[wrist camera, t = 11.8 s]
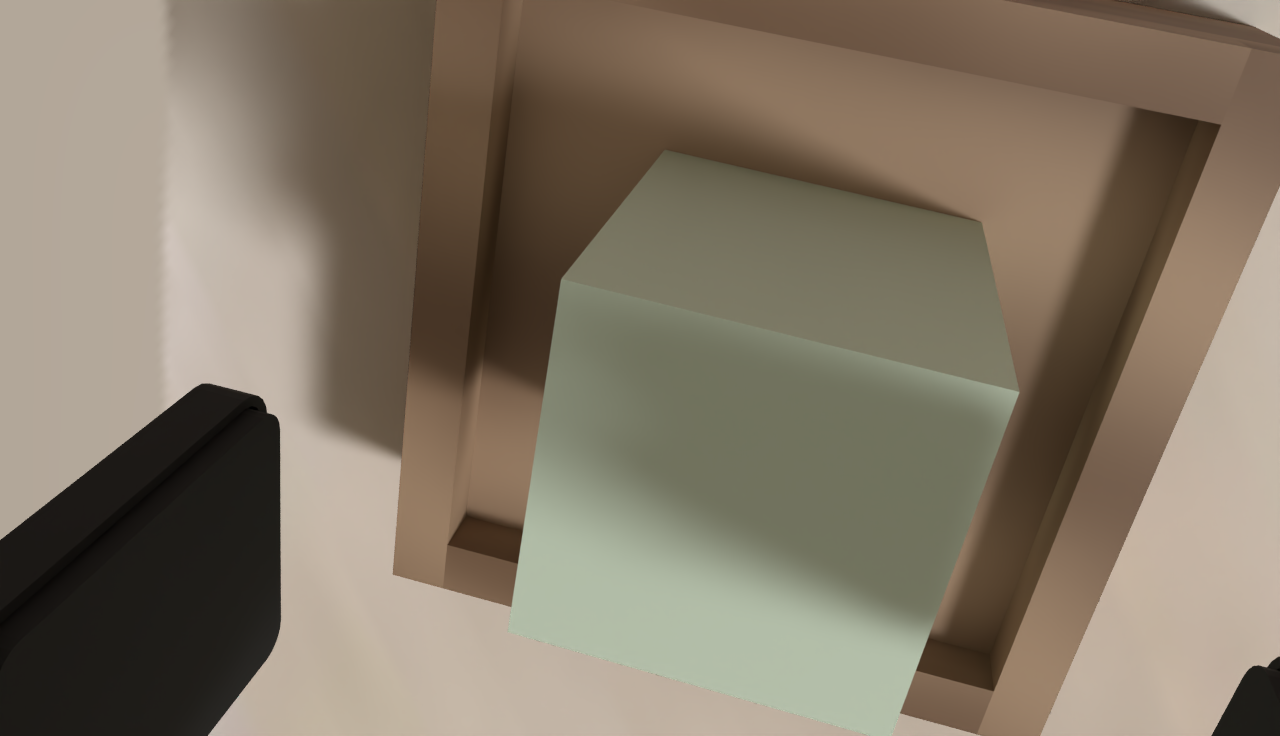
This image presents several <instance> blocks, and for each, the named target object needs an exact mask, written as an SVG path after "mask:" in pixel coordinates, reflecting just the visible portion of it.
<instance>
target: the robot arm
mask: <svg viewBox="0 0 1280 736" xmlns="http://www.w3.org/2000/svg"><path fill="white" fill-rule="evenodd" d="M280 622H281V559H280V426H279V421H278V419H277V417H276V416H274V415H272V414H268V413H267V410H266V406H265V403H264V401H263V399H261V398H260V397H259V396H256V395H252V394H248V393H244V392H241V391H237V390H233V389H229V388H225V387H221V386H217V385H213V384H201V385H199V386H197V387H195V388H194V389H192V390H191V391H190V392H189V393H187V394H186V395H185V396H183V397H182V398H181V399H180V400H178V401H177V402H176V403H175V404H173V405H172V406H171V407H169V408H168V409H167V410H166V411H164V412H163V413H162V414H161V415H159V416H158V417H157V418H155V419H154V420H153V421H152V422H150V423H149V424H148V425H147V426H146V427H144V428H143V429H142V430H140V431H139V432H138V433H136V434H135V435H134V436H133V437H131V438H130V439H129V440H127V441H126V442H125V443H124V444H122V445H121V446H120V447H118V448H117V449H116V450H115V451H114V452H112V453H111V454H110V455H108V456H107V457H106V458H105V459H103V460H102V461H101V462H99V463H98V464H97V465H95V466H94V467H93V468H92V469H91V470H89V471H88V472H87V473H85V474H84V475H83V476H82V477H80V478H79V479H78V480H77V481H75V482H74V483H73V484H71V485H70V486H69V487H67V488H66V489H65V490H64V491H62V492H61V493H60V494H59V495H57V496H56V497H55V498H53V499H52V500H51V501H50V502H48V503H47V504H46V505H45V506H43V507H42V508H41V509H39V510H38V511H37V512H36V513H34V514H33V515H32V516H30V517H29V518H28V519H27V520H25V521H24V522H23V523H22V524H21V525H19V526H18V527H17V528H15V529H14V530H13V531H11V532H10V533H9V534H7V535H6V536H5V537H4V538H2V539H1V540H0V736H208V735H209V733H210V732H211V731H212V729H213V728H214V727H215V725H216V724H217V723H218V722H219V720H220V719H221V718H222V716H223V715H224V714H225V713H226V711H227V710H228V709H229V707H230V706H231V705H232V704H233V702H234V701H235V700H236V698H237V697H238V696H239V694H240V693H241V692H242V691H243V689H244V688H245V687H246V685H247V684H248V683H249V682H250V680H251V679H252V678H253V676H254V675H255V674H256V672H257V671H258V670H259V669H260V667H261V666H262V665H263V663H264V662H265V661H266V660H267V658H268V657H269V655H270V653H271V652H272V650H273V647H274V645H275V643H276V640H277V637H278V634H279V630H280ZM1212 736H1280V657H1277V658H1276V659H1275V660H1273V661H1272V662H1271V663H1270V664H1269V666H1268V667H1267V668H1266V667H1262V666H1253V667H1252V668H1250V669H1249V670H1248V671H1247V672H1246V674H1245V675H1244V677H1243V678H1242V680H1241V682H1240V684H1239V686H1238V688H1237V689H1236V691H1235V693H1234V695H1233V697H1232V699H1231V701H1230V702H1229V704H1228V706H1227V708H1226V710H1225V712H1224V714H1223V715H1222V717H1221V719H1220V721H1219V723H1218V725H1217V727H1216V728H1215V730H1214V732H1213V734H1212Z"/></svg>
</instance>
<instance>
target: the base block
mask: <svg viewBox="0 0 1280 736" xmlns="http://www.w3.org/2000/svg"><path fill="white" fill-rule="evenodd" d="M664 150H669V151H673V152H678V153H682V154H686V155H691V156H695V157H699V158H704V159H708V160H712V161H717V162H721V163H725V164H730V165H734V166H738V167H743V168H747V169H751V170H756V171H760V172H764V173H769V174H773V175H777V176H782V177H786V178H791V179H795V180H799V181H804V182H808V183H812V184H817V185H821V186H825V187H830V188H834V189H838V190H843V191H847V192H851V193H856V194H860V195H864V196H869V197H873V198H877V199H882V200H886V201H890V202H895V203H899V204H904V205H908V206H912V207H917V208H921V209H925V210H930V211H934V212H938V213H943V214H947V215H951V216H956V217H960V218H964V219H969V220H973V221H977V222H982V225H983V229H984V234H985V238H986V243H987V247H988V252H989V256H990V261H991V265H992V270H993V274H994V279H995V283H996V288H997V292H998V297H999V301H1000V306H1001V311H1002V315H1003V320H1004V324H1005V329H1006V333H1007V338H1008V342H1009V347H1010V351H1011V356H1012V360H1013V365H1014V369H1015V374H1016V378H1017V383H1018V387H1019V395H1018V398H1017V400H1016V403H1015V406H1014V408H1013V411H1012V414H1011V416H1010V419H1009V422H1008V424H1007V427H1006V430H1005V432H1004V435H1003V438H1002V441H1001V443H1000V446H999V449H998V451H997V454H996V457H995V459H994V462H993V465H992V467H991V470H990V473H989V475H988V478H987V481H986V483H985V486H984V489H983V492H982V494H981V497H980V500H979V502H978V505H977V508H976V510H975V513H974V516H973V518H972V521H971V524H970V526H969V529H968V532H967V535H966V537H965V540H964V543H963V545H962V548H961V551H960V553H959V556H958V559H957V561H956V564H955V567H954V569H953V572H952V575H951V577H950V580H949V583H948V586H947V588H946V591H945V594H944V596H943V599H942V602H941V604H940V607H939V610H938V612H937V615H936V618H935V620H934V623H933V626H932V628H931V631H930V634H929V637H928V639H927V642H926V645H925V647H924V650H923V653H922V655H921V658H920V661H919V663H918V666H917V669H916V671H915V674H914V677H913V679H912V682H911V685H910V688H909V690H908V693H907V696H906V698H905V701H904V704H903V706H902V709H901V712H900V713H901V714H905V715H909V716H912V717H916V718H919V719H923V720H927V721H930V722H934V723H938V724H941V725H945V726H949V727H952V728H956V729H960V730H963V731H967V732H971V733H974V734H978V735H982V736H1040V734H1041V732H1042V730H1043V728H1044V725H1045V723H1046V721H1047V718H1048V716H1049V714H1050V712H1051V709H1052V707H1053V705H1054V702H1055V700H1056V698H1057V695H1058V693H1059V691H1060V689H1061V686H1062V684H1063V682H1064V679H1065V677H1066V675H1067V673H1068V670H1069V668H1070V666H1071V663H1072V661H1073V659H1074V656H1075V654H1076V652H1077V650H1078V647H1079V645H1080V643H1081V640H1082V638H1083V636H1084V634H1085V631H1086V629H1087V627H1088V624H1089V622H1090V620H1091V617H1092V615H1093V613H1094V611H1095V608H1096V606H1097V604H1098V601H1099V599H1100V597H1101V595H1102V592H1103V590H1104V588H1105V585H1106V583H1107V581H1108V578H1109V576H1110V574H1111V572H1112V569H1113V567H1114V565H1115V562H1116V560H1117V558H1118V556H1119V553H1120V551H1121V549H1122V546H1123V544H1124V542H1125V540H1126V537H1127V535H1128V533H1129V530H1130V528H1131V526H1132V523H1133V521H1134V519H1135V517H1136V514H1137V512H1138V510H1139V507H1140V505H1141V503H1142V501H1143V498H1144V496H1145V494H1146V491H1147V489H1148V487H1149V484H1150V482H1151V480H1152V478H1153V475H1154V473H1155V471H1156V468H1157V466H1158V464H1159V462H1160V459H1161V457H1162V455H1163V452H1164V450H1165V448H1166V445H1167V443H1168V441H1169V439H1170V436H1171V434H1172V432H1173V429H1174V427H1175V425H1176V423H1177V420H1178V418H1179V416H1180V413H1181V411H1182V409H1183V406H1184V404H1185V402H1186V400H1187V397H1188V395H1189V393H1190V390H1191V388H1192V386H1193V384H1194V381H1195V379H1196V377H1197V374H1198V372H1199V370H1200V367H1201V365H1202V363H1203V361H1204V358H1205V356H1206V354H1207V351H1208V349H1209V347H1210V345H1211V342H1212V340H1213V338H1214V335H1215V333H1216V331H1217V329H1218V326H1219V324H1220V322H1221V319H1222V317H1223V315H1224V312H1225V310H1226V308H1227V306H1228V303H1229V301H1230V299H1231V296H1232V294H1233V292H1234V290H1235V287H1236V285H1237V283H1238V280H1239V278H1240V276H1241V273H1242V271H1243V269H1244V267H1245V264H1246V262H1247V260H1248V257H1249V255H1250V253H1251V251H1252V248H1253V246H1254V244H1255V241H1256V239H1257V237H1258V234H1259V232H1260V230H1261V228H1262V225H1263V223H1264V221H1265V218H1266V216H1267V214H1268V212H1269V209H1270V207H1271V205H1272V202H1273V200H1274V198H1275V195H1276V193H1277V191H1278V189H1279V186H1280V39H1279V38H1277V37H1275V36H1272V35H1270V34H1268V33H1266V32H1264V31H1262V30H1260V29H1258V28H1256V27H1252V26H1247V25H1242V24H1236V23H1231V22H1226V21H1221V20H1216V19H1210V18H1205V17H1200V16H1195V15H1190V14H1184V13H1179V12H1174V11H1169V10H1163V9H1158V8H1153V7H1148V6H1143V5H1137V4H1132V3H1127V2H1122V1H1117V0H436V12H435V25H434V39H433V52H432V65H431V78H430V91H429V104H428V118H427V131H426V144H425V157H424V170H423V184H422V197H421V210H420V223H419V236H418V249H417V263H416V276H415V289H414V302H413V315H412V328H411V342H410V355H409V368H408V381H407V394H406V407H405V421H404V434H403V447H402V460H401V473H400V486H399V500H398V513H397V526H396V539H395V552H394V566H393V575H397V576H400V577H404V578H408V579H411V580H415V581H419V582H422V583H426V584H430V585H433V586H437V587H441V588H444V589H448V590H451V591H455V592H459V593H462V594H466V595H470V596H473V597H477V598H481V599H484V600H488V601H492V602H495V603H499V604H503V605H506V606H510V607H512V600H513V594H514V587H515V580H516V574H517V567H518V561H519V554H520V547H521V541H522V534H523V528H524V521H525V514H526V508H527V501H528V495H529V488H530V481H531V475H532V468H533V462H534V455H535V448H536V442H537V435H538V429H539V422H540V415H541V409H542V402H543V396H544V389H545V383H546V376H547V369H548V363H549V356H550V350H551V343H552V336H553V330H554V323H555V317H556V310H557V303H558V297H559V290H560V284H561V279H562V277H563V276H564V275H565V274H566V272H567V271H568V270H569V269H570V267H571V266H572V265H573V264H574V262H575V261H576V260H577V259H578V257H579V256H580V255H581V254H582V252H583V251H584V250H585V249H586V247H587V246H588V245H589V244H590V242H591V241H592V240H593V239H594V237H595V236H596V235H597V234H598V232H599V231H600V230H601V229H602V227H603V226H604V225H605V224H606V222H607V221H608V220H609V219H610V217H611V216H612V215H613V214H614V213H615V211H616V210H617V209H618V208H619V206H620V205H621V204H622V203H623V201H624V200H625V199H626V198H627V196H628V195H629V194H630V193H631V191H632V190H633V189H634V188H635V186H636V185H637V184H638V183H639V181H640V180H641V179H642V178H643V176H644V175H645V174H646V173H647V171H648V170H649V169H650V168H651V166H652V165H653V164H654V163H655V161H656V160H657V159H658V158H659V156H660V155H661V154H662V153H663V151H664Z"/></svg>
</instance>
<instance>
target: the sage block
mask: <svg viewBox="0 0 1280 736" xmlns="http://www.w3.org/2000/svg"><path fill="white" fill-rule="evenodd" d="M1018 395H1019V387H1018V383H1017V378H1016V374H1015V369H1014V365H1013V360H1012V356H1011V351H1010V347H1009V342H1008V338H1007V333H1006V329H1005V324H1004V320H1003V315H1002V311H1001V306H1000V301H999V297H998V292H997V288H996V283H995V279H994V274H993V270H992V265H991V261H990V256H989V252H988V247H987V243H986V238H985V234H984V229H983V225H982V222H977V221H973V220H969V219H964V218H960V217H956V216H951V215H947V214H943V213H938V212H934V211H930V210H925V209H921V208H917V207H912V206H908V205H904V204H899V203H895V202H890V201H886V200H882V199H877V198H873V197H869V196H864V195H860V194H856V193H851V192H847V191H843V190H838V189H834V188H830V187H825V186H821V185H817V184H812V183H808V182H804V181H799V180H795V179H791V178H786V177H782V176H777V175H773V174H769V173H764V172H760V171H756V170H751V169H747V168H743V167H738V166H734V165H730V164H725V163H721V162H717V161H712V160H708V159H704V158H699V157H695V156H691V155H686V154H682V153H678V152H673V151H669V150H664V151H663V153H662V154H661V155H660V156H659V158H658V159H657V160H656V161H655V163H654V164H653V165H652V166H651V168H650V169H649V170H648V171H647V173H646V174H645V175H644V176H643V178H642V179H641V180H640V181H639V183H638V184H637V185H636V186H635V188H634V189H633V190H632V191H631V193H630V194H629V195H628V196H627V198H626V199H625V200H624V201H623V203H622V204H621V205H620V206H619V208H618V209H617V210H616V211H615V213H614V214H613V215H612V216H611V217H610V219H609V220H608V221H607V222H606V224H605V225H604V226H603V227H602V229H601V230H600V231H599V232H598V234H597V235H596V236H595V237H594V239H593V240H592V241H591V242H590V244H589V245H588V246H587V247H586V249H585V250H584V251H583V252H582V254H581V255H580V256H579V257H578V259H577V260H576V261H575V262H574V264H573V265H572V266H571V267H570V269H569V270H568V271H567V272H566V274H565V275H564V276H563V277H562V279H561V284H560V290H559V297H558V303H557V310H556V317H555V323H554V330H553V336H552V343H551V350H550V356H549V363H548V369H547V376H546V383H545V389H544V396H543V402H542V409H541V415H540V422H539V429H538V435H537V442H536V448H535V455H534V462H533V468H532V475H531V481H530V488H529V495H528V501H527V508H526V514H525V521H524V528H523V534H522V541H521V547H520V554H519V561H518V567H517V574H516V580H515V587H514V594H513V600H512V607H511V613H510V620H509V627H508V632H509V633H513V634H516V635H520V636H523V637H527V638H530V639H534V640H537V641H541V642H544V643H548V644H551V645H555V646H558V647H562V648H565V649H569V650H572V651H575V652H579V653H582V654H586V655H589V656H593V657H596V658H600V659H603V660H607V661H610V662H614V663H617V664H621V665H624V666H628V667H631V668H635V669H638V670H642V671H645V672H649V673H652V674H656V675H659V676H663V677H666V678H670V679H673V680H677V681H680V682H684V683H687V684H691V685H694V686H698V687H701V688H705V689H708V690H712V691H715V692H719V693H722V694H726V695H729V696H733V697H736V698H740V699H743V700H747V701H750V702H754V703H757V704H761V705H764V706H768V707H771V708H775V709H778V710H782V711H785V712H789V713H792V714H796V715H799V716H803V717H806V718H810V719H813V720H817V721H820V722H824V723H827V724H831V725H834V726H838V727H841V728H845V729H848V730H852V731H855V732H859V733H862V734H866V735H869V736H892V733H893V730H894V728H895V725H896V722H897V720H898V717H899V714H900V712H901V709H902V706H903V704H904V701H905V698H906V696H907V693H908V690H909V688H910V685H911V682H912V679H913V677H914V674H915V671H916V669H917V666H918V663H919V661H920V658H921V655H922V653H923V650H924V647H925V645H926V642H927V639H928V637H929V634H930V631H931V628H932V626H933V623H934V620H935V618H936V615H937V612H938V610H939V607H940V604H941V602H942V599H943V596H944V594H945V591H946V588H947V586H948V583H949V580H950V577H951V575H952V572H953V569H954V567H955V564H956V561H957V559H958V556H959V553H960V551H961V548H962V545H963V543H964V540H965V537H966V535H967V532H968V529H969V526H970V524H971V521H972V518H973V516H974V513H975V510H976V508H977V505H978V502H979V500H980V497H981V494H982V492H983V489H984V486H985V483H986V481H987V478H988V475H989V473H990V470H991V467H992V465H993V462H994V459H995V457H996V454H997V451H998V449H999V446H1000V443H1001V441H1002V438H1003V435H1004V432H1005V430H1006V427H1007V424H1008V422H1009V419H1010V416H1011V414H1012V411H1013V408H1014V406H1015V403H1016V400H1017V398H1018Z"/></svg>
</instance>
